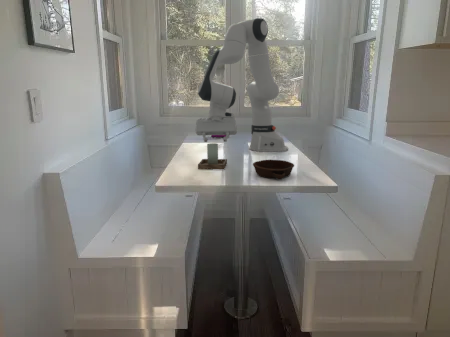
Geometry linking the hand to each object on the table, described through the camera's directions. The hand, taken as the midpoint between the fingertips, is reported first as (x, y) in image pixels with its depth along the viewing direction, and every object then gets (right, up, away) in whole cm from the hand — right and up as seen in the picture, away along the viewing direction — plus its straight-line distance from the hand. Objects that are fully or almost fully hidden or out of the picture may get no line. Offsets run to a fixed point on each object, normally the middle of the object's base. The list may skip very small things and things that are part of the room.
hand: (215, 141), depth 170 cm
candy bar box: (+1, +10, +86) cm, 86 cm away
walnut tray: (-1, -12, -2) cm, 12 cm away
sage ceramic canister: (-1, -11, -2) cm, 12 cm away
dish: (+25, -16, -18) cm, 35 cm away
